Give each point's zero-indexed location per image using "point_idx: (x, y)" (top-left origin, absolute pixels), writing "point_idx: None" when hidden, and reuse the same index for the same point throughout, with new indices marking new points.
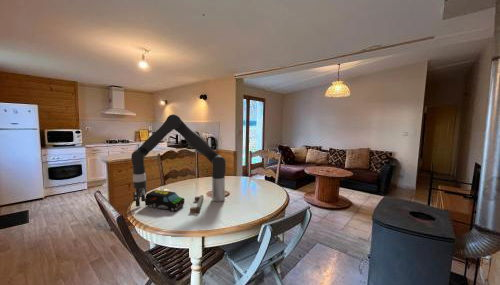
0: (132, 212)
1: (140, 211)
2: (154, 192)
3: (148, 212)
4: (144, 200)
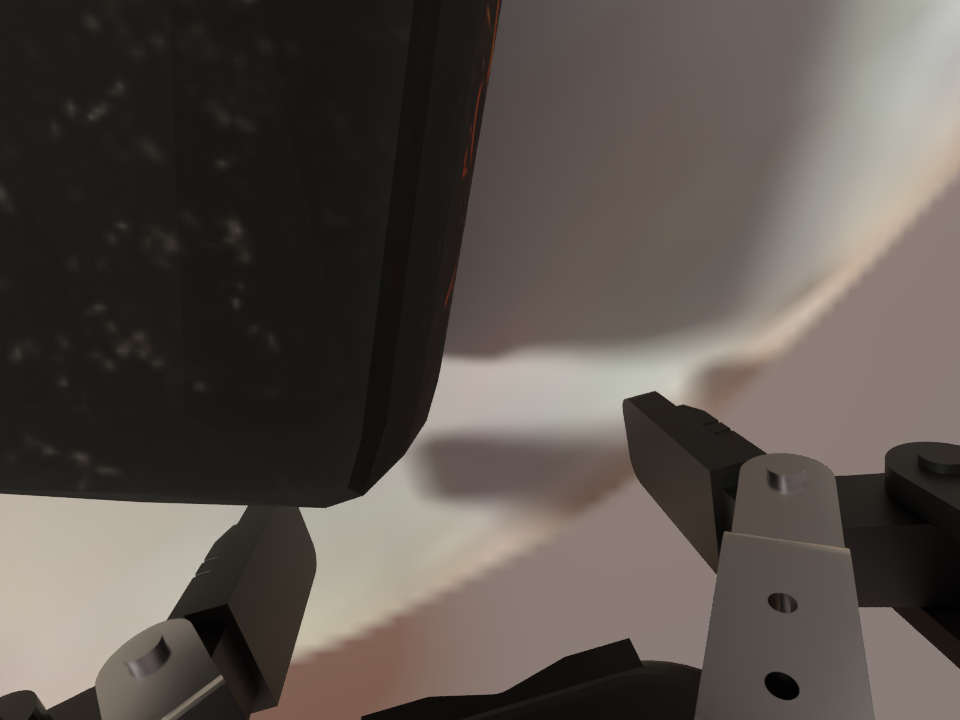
0: None
1: (635, 310)
2: None
3: (675, 81)
4: None
